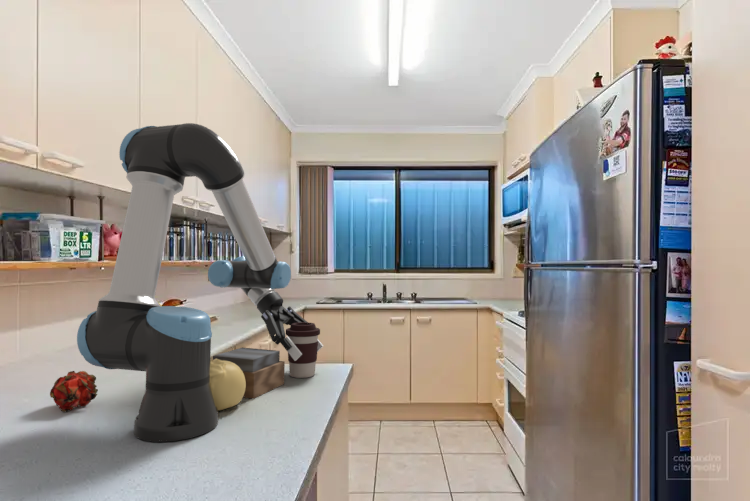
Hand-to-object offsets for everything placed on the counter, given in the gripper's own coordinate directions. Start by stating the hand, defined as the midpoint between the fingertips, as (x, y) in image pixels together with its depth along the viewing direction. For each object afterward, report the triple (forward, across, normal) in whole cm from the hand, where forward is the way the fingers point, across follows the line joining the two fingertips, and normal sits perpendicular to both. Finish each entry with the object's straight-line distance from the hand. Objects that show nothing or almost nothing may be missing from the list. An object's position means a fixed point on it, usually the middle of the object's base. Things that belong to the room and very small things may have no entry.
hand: (310, 353), depth 128 cm
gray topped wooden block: (-2, +17, -11) cm, 21 cm away
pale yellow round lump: (0, +32, -9) cm, 33 cm away
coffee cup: (+3, 0, -6) cm, 7 cm away
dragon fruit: (-20, +44, -30) cm, 57 cm away
